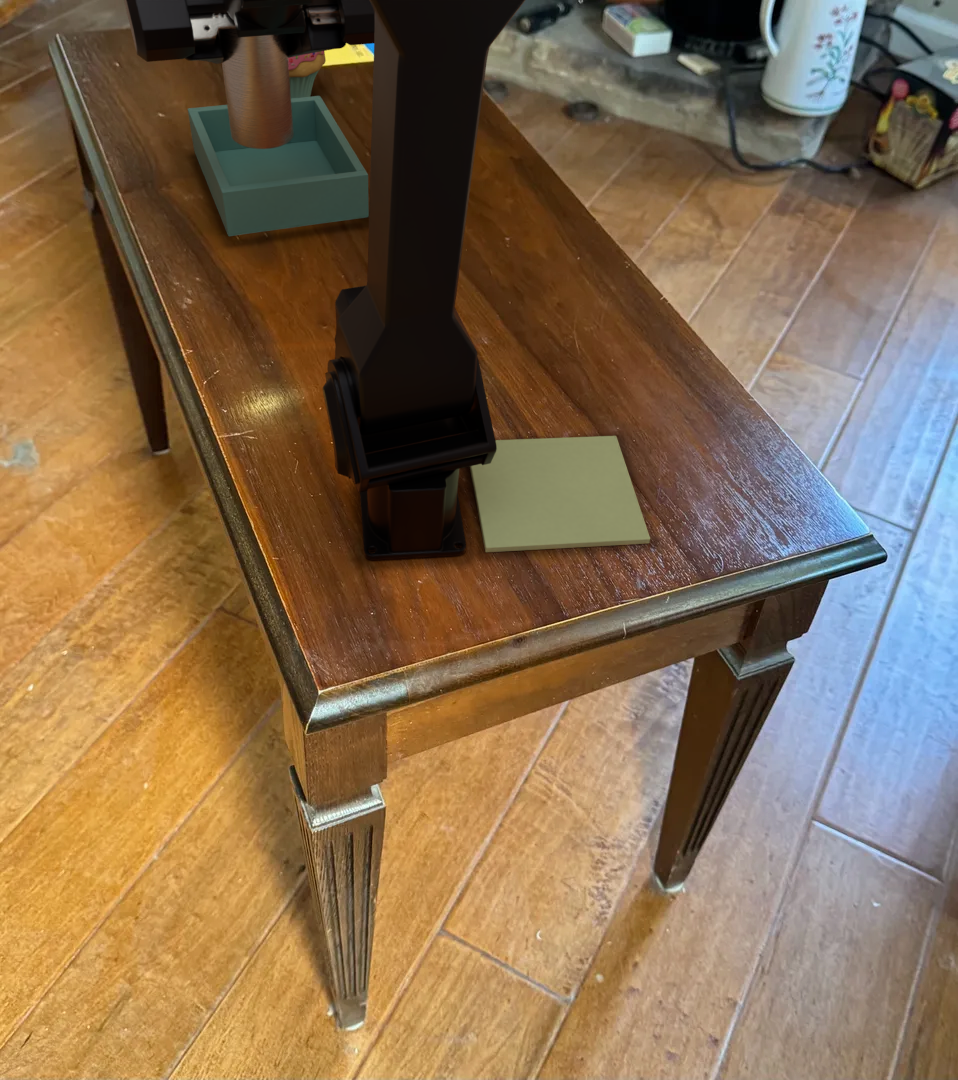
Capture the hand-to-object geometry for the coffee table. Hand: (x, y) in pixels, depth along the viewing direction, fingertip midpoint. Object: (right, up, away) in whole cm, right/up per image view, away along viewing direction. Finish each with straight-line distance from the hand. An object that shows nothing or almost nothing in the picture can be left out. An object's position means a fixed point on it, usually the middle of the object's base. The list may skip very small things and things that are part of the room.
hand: (251, 54), depth 76 cm
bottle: (0, -5, +4) cm, 6 cm away
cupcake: (-2, +8, +25) cm, 26 cm away
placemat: (+24, -36, -11) cm, 45 cm away
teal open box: (0, -7, +12) cm, 14 cm away
